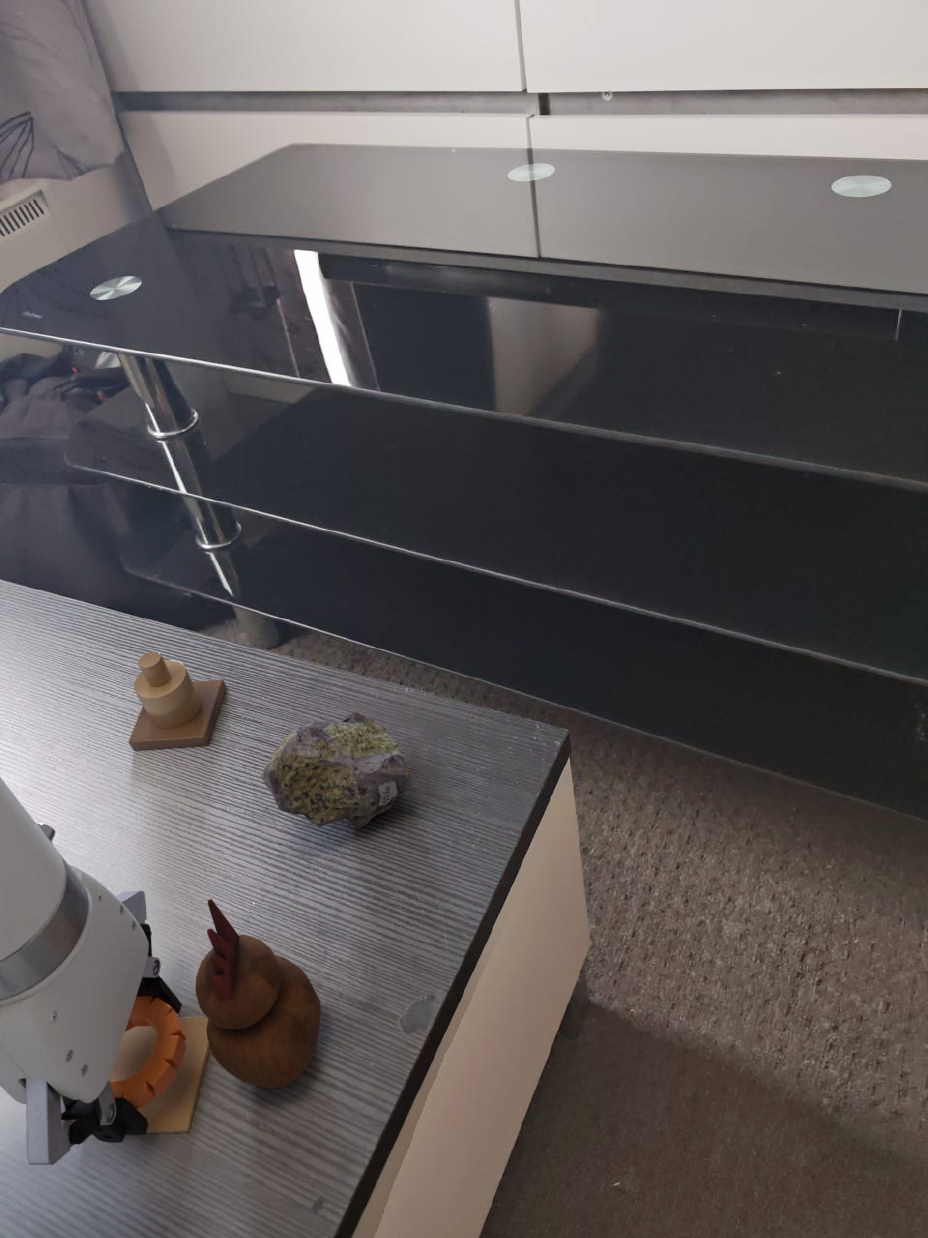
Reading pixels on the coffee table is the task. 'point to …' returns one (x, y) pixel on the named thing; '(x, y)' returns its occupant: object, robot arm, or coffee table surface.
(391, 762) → the rock
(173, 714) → the post
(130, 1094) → the ring
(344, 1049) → the coffee table surface
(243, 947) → the wooden figurine
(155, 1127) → the coaster
